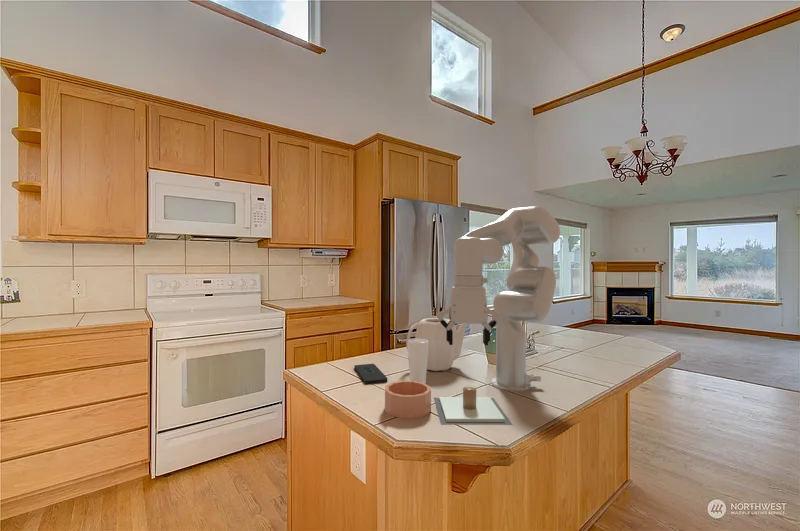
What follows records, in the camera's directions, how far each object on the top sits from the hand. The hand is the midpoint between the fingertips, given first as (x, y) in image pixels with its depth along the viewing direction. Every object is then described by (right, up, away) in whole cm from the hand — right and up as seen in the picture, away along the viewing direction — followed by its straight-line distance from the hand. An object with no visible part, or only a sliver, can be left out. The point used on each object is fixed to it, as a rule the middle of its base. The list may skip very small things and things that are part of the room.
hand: (468, 344), depth 99 cm
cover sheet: (0, -18, 0) cm, 18 cm away
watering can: (-3, -19, +42) cm, 46 cm away
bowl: (-17, -18, +1) cm, 25 cm away
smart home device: (-30, -19, +33) cm, 48 cm away
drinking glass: (-13, -19, +21) cm, 31 cm away
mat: (0, -19, 0) cm, 18 cm away
